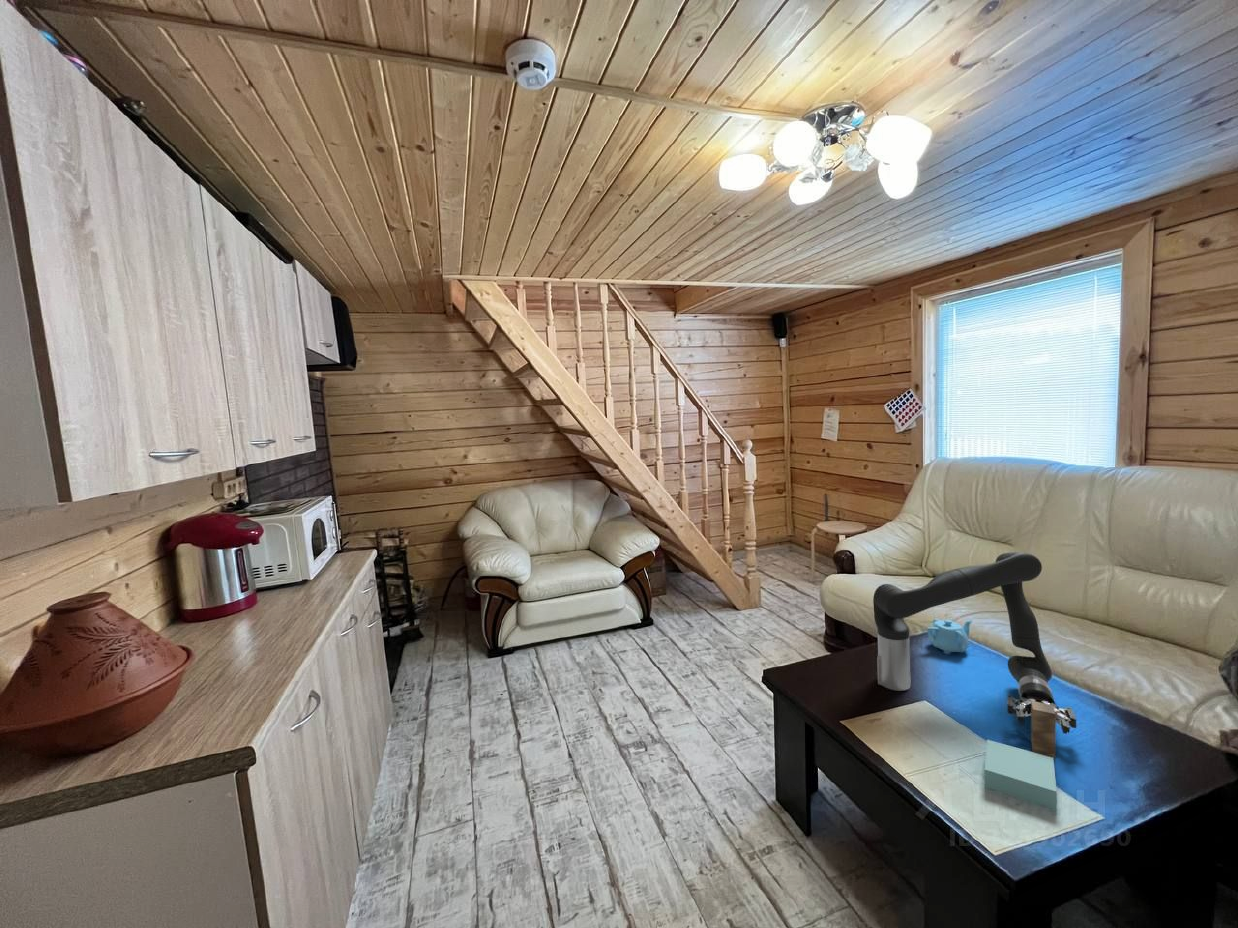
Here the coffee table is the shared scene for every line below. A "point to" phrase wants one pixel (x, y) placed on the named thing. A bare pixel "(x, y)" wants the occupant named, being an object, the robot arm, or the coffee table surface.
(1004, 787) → the teal block
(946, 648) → the teapot
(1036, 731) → the walnut pillar
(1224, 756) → the coffee table surface
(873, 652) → the coffee table surface
